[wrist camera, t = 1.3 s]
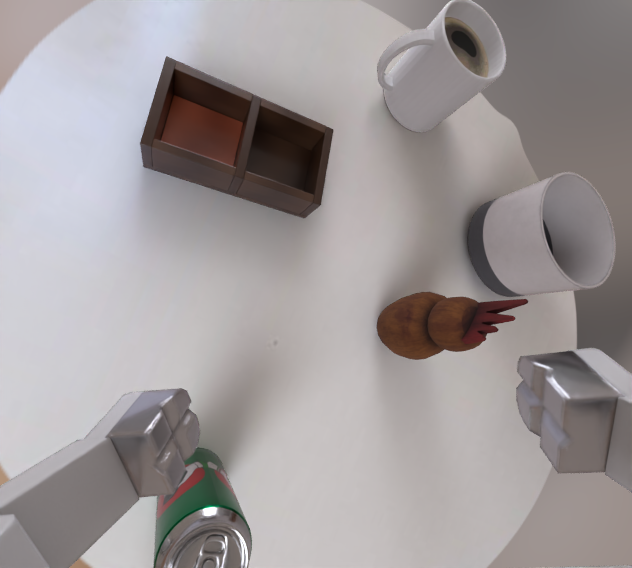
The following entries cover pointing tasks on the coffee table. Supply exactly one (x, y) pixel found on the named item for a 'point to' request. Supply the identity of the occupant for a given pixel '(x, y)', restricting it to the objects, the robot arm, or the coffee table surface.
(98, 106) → the coffee table surface
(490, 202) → the planter
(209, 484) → the soda can
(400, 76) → the mug
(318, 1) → the coffee table surface
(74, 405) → the coffee table surface
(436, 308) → the wooden figurine
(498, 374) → the coffee table surface
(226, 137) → the holder
